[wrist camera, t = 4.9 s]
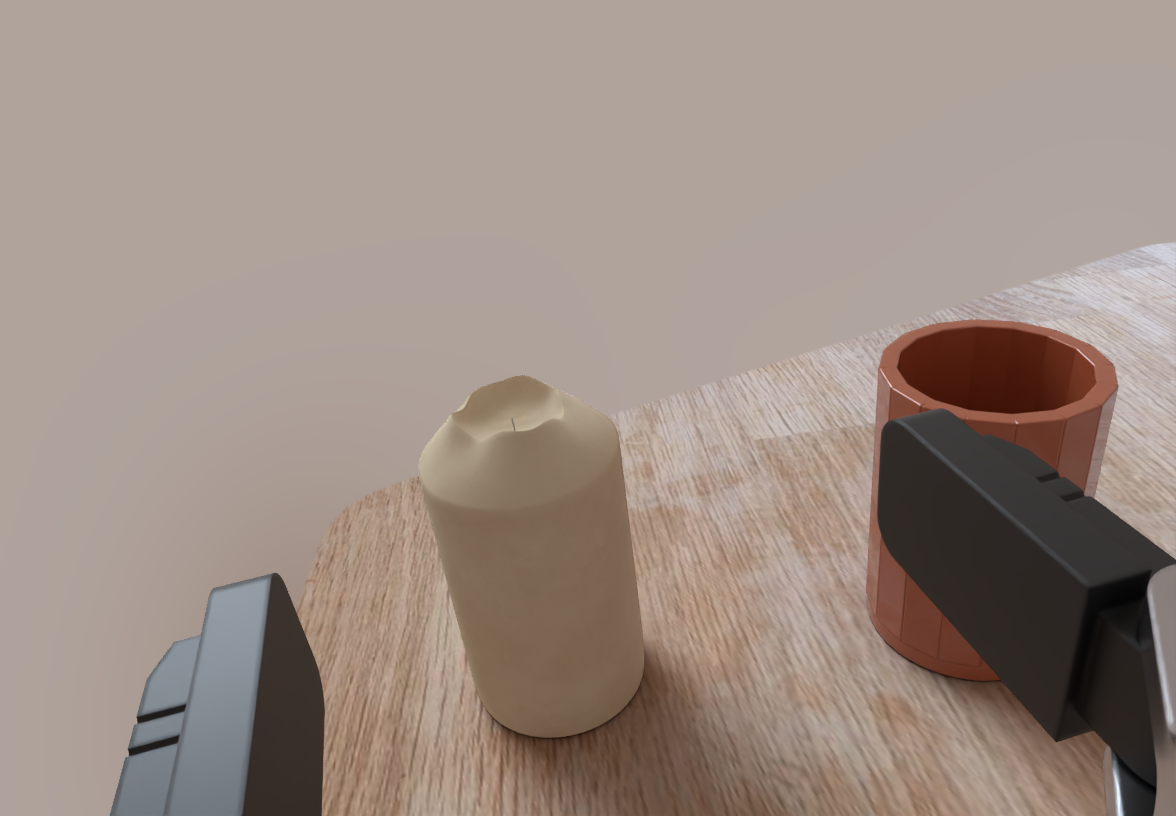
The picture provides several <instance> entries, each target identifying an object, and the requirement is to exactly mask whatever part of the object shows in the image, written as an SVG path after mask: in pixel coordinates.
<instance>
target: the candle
mask: <svg viewBox="0 0 1176 816" xmlns="http://www.w3.org/2000/svg"><path fill="white" fill-rule="evenodd" d="M418 473H419V478H420V482H421V486H422V490H423V494H424V497H425V501H426V505H427V509H428V512H429V516H430V520H431V524H432V527H433V531H434V535H435V539H436V542H437V546H438V550H439V554H440V557H441V561H442V565H443V569H444V572H445V576H446V580H447V584H448V587H449V591H450V595H451V599H452V602H453V606H454V610H455V614H456V617H457V621H458V625H459V629H460V632H461V636H462V640H463V644H464V647H465V651H466V655H467V659H468V662H469V666H470V670H471V673H472V677H473V680H474V683H475V687H476V690H477V692H478V695H479V697H480V699H481V701H482V703H483V705H484V706H485V708H486V709H487V711H488V712H489V713H490V714H491V715H492V717H493V718H494V719H496V720H497V721H498V722H499V723H501V724H502V725H504V726H505V727H507V728H509V729H511V730H513V731H516V732H518V733H521V734H525V735H529V736H535V737H545V738H555V737H565V736H570V735H575V734H579V733H582V732H585V731H588V730H591V729H593V728H595V727H598V726H600V725H601V724H603V723H605V722H607V721H608V720H610V719H611V718H612V717H614V716H615V715H617V714H618V713H619V712H620V711H621V710H622V709H623V708H624V707H625V706H626V705H627V704H628V703H629V701H630V700H631V699H632V698H633V696H634V694H635V693H636V691H637V689H638V687H639V685H640V682H641V679H642V675H643V670H644V659H645V655H644V644H643V633H642V624H641V616H640V607H639V599H638V591H637V582H636V574H635V566H634V558H633V549H632V541H631V533H630V524H629V516H628V508H627V500H626V491H625V483H624V475H623V466H622V458H621V450H620V442H619V435H618V432H617V429H616V427H615V425H614V424H613V422H612V421H611V420H610V419H609V418H608V417H607V416H606V415H605V414H603V413H602V412H601V411H599V410H597V409H596V408H594V407H593V406H591V405H589V404H587V403H585V402H584V401H582V400H580V399H578V398H576V397H574V396H572V395H570V394H567V393H565V392H563V391H560V390H558V389H556V388H554V387H552V386H550V385H548V384H545V383H543V382H541V381H539V380H537V379H534V378H532V377H529V376H523V375H522V376H515V377H512V378H509V379H506V380H504V381H500V382H497V383H493V384H489V385H487V386H484V387H481V388H478V389H477V390H475V391H473V392H472V393H471V394H470V396H469V397H468V398H467V399H466V401H465V402H464V403H463V404H462V405H461V407H460V408H459V409H458V410H457V411H456V412H454V413H452V414H451V415H450V416H449V418H448V420H447V421H446V422H445V424H443V425H442V427H441V428H440V429H439V430H438V431H437V432H436V434H435V435H434V436H433V437H432V439H431V440H430V442H429V443H428V444H427V446H426V447H425V449H424V450H423V452H422V454H421V456H420V460H419V463H418Z"/></svg>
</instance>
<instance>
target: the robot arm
mask: <svg viewBox="0 0 1176 816" xmlns="http://www.w3.org/2000/svg"><path fill="white" fill-rule="evenodd" d="M877 519H878V525H879V529H880V533H881V536H882V539H883V541H884V543H885V545H886V547H887V549H888V551H889V553H890V554H891V556H892V557H893V558H894V559H895V560H896V562H897V563H898V564H899V565H900V566H901V567H902V568H903V570H904V571H905V572H906V573H907V574H908V575H909V576H910V577H911V579H912V580H913V581H914V582H915V583H916V584H917V585H918V587H919V588H920V589H921V590H922V591H923V592H924V593H925V594H926V596H927V597H928V598H929V599H930V600H931V601H932V602H933V603H934V605H935V606H936V607H937V608H938V609H939V610H940V611H941V613H942V614H943V615H944V616H945V617H946V618H947V619H948V620H949V622H950V623H951V624H952V625H953V626H954V627H955V628H956V630H957V631H958V632H959V633H960V634H961V635H962V636H963V637H964V639H965V640H966V641H967V642H968V643H969V644H970V645H971V646H972V648H973V649H974V650H975V651H976V652H977V653H978V654H979V656H980V657H981V658H982V659H983V660H984V661H985V662H986V663H987V665H988V666H989V667H990V668H991V669H992V670H993V671H994V673H995V674H996V675H997V676H998V677H999V678H1000V679H1001V680H1002V682H1003V683H1004V684H1005V685H1006V686H1007V687H1008V688H1009V690H1010V691H1011V692H1012V693H1013V694H1014V695H1015V696H1016V697H1017V699H1018V700H1019V701H1020V702H1021V703H1022V704H1023V705H1024V706H1025V708H1026V709H1027V710H1028V711H1029V712H1030V713H1031V714H1032V716H1033V717H1034V718H1035V719H1036V720H1037V721H1038V722H1039V723H1040V725H1041V726H1042V727H1043V728H1044V729H1045V730H1046V731H1047V733H1048V734H1049V735H1050V736H1051V737H1052V738H1053V739H1054V740H1055V742H1058V741H1062V740H1065V739H1068V738H1071V737H1074V736H1077V735H1080V734H1083V733H1087V732H1090V731H1093V730H1094V731H1095V732H1096V733H1097V734H1098V735H1099V736H1100V737H1101V738H1102V739H1103V740H1104V742H1105V743H1106V744H1107V745H1106V749H1105V753H1104V756H1103V776H1104V789H1105V802H1106V815H1107V816H1176V560H1175V559H1174V558H1173V557H1171V556H1170V555H1169V554H1167V553H1166V552H1165V551H1163V550H1162V549H1161V548H1159V547H1158V546H1157V545H1155V544H1154V543H1153V542H1151V541H1150V540H1149V539H1147V538H1146V537H1145V536H1143V535H1142V534H1141V533H1139V532H1138V531H1137V530H1135V529H1134V528H1133V527H1131V526H1130V525H1129V524H1127V523H1126V522H1125V521H1123V520H1122V519H1121V518H1119V517H1118V516H1117V515H1115V514H1114V513H1113V512H1111V511H1110V510H1109V509H1107V508H1106V507H1105V506H1103V505H1102V504H1101V503H1099V502H1098V501H1097V500H1095V499H1094V498H1093V497H1091V496H1085V495H1084V493H1083V490H1082V489H1080V488H1079V487H1078V486H1076V485H1075V484H1074V483H1072V482H1071V481H1070V480H1068V479H1067V478H1066V477H1060V476H1059V472H1058V471H1056V470H1055V469H1054V468H1052V467H1051V466H1050V465H1048V464H1047V463H1046V462H1044V461H1043V460H1042V459H1040V458H1039V457H1038V456H1036V455H1035V454H1034V453H1032V452H1031V451H1030V450H1028V449H1026V448H1023V447H1021V446H1018V445H1015V444H1013V443H1010V442H1008V441H1005V440H1003V439H1000V438H998V437H995V436H993V435H990V434H987V435H983V436H981V435H980V434H979V433H977V432H976V431H975V430H974V429H972V428H971V427H970V426H968V425H967V424H966V423H965V422H963V421H962V420H961V419H959V418H958V417H957V416H956V415H954V414H953V413H952V412H950V411H949V410H947V409H944V408H938V409H934V410H930V411H926V412H922V413H918V414H914V415H910V416H906V417H902V418H898V419H894V420H890V421H888V422H886V424H885V425H884V427H883V429H882V433H881V443H880V463H879V483H878V502H877ZM324 716H325V709H324V696H323V689H322V683H321V679H320V674H319V670H318V667H317V664H316V661H315V658H314V656H313V653H312V651H311V648H310V646H309V643H308V641H307V638H306V636H305V633H304V631H303V628H302V626H301V623H300V621H299V618H298V616H297V613H296V611H295V608H294V606H293V603H292V601H291V598H290V596H289V593H288V591H287V588H286V586H285V583H284V581H283V580H282V578H281V577H280V575H278V573H273V574H269V575H265V576H261V577H257V578H253V579H249V580H245V581H241V582H237V583H233V584H229V585H225V586H221V587H217V588H214V589H213V590H212V591H211V593H210V595H209V599H208V604H207V608H206V613H205V618H204V623H203V628H202V632H201V635H199V636H196V637H192V638H188V639H184V640H180V641H176V642H174V643H173V644H172V646H171V647H170V648H169V650H168V651H167V652H166V654H165V655H164V656H163V658H162V659H161V661H160V662H159V663H158V665H157V666H156V668H155V669H154V670H153V672H152V673H151V674H150V676H149V677H148V679H147V681H146V684H145V688H144V692H143V695H142V699H141V703H140V706H139V710H138V714H137V721H138V724H137V725H134V728H133V732H132V736H131V740H130V743H129V747H128V751H129V757H126V758H125V761H124V765H123V769H122V772H121V776H120V780H119V784H118V788H117V791H116V795H115V798H114V802H113V806H112V809H111V813H110V816H322V783H323V749H324Z"/></svg>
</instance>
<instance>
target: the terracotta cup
mask: <svg viewBox="0 0 1176 816" xmlns="http://www.w3.org/2000/svg"><path fill="white" fill-rule="evenodd" d="M1118 387H1119V386H1118V381H1117V376H1116V371H1115V366H1114V365H1113V363H1112V362H1110V361H1109V360H1108V359H1107V358H1106V357H1105V356H1104V355H1103V354H1101V353H1100V352H1099V351H1098V350H1097V349H1096V348H1095V347H1093V346H1091V345H1090V344H1088V343H1085V342H1083V341H1081V340H1079V339H1076V338H1074V337H1072V336H1069V335H1067V334H1065V333H1062V332H1060V331H1057V330H1054V329H1049V328H1044V327H1040V326H1035V325H1030V324H1026V323H1021V322H1014V321H995V320H963V321H954V322H945V323H936V324H932V325H929V326H926V327H923V328H920V329H917V330H913V331H910V332H907V333H905V334H903V335H901V336H900V337H899V338H897V339H896V340H895V341H893V342H892V343H891V344H890V345H888V346H887V347H886V348H885V349H884V350H883V352H882V356H881V360H880V364H879V368H878V386H877V404H876V422H875V440H874V458H873V476H872V494H871V512H870V530H869V548H868V566H867V584H866V591H867V592H866V593H867V609H868V612H869V616H870V619H871V621H872V623H873V625H874V627H875V628H876V630H877V631H878V633H879V634H880V636H881V637H882V638H883V639H884V640H885V641H886V642H887V643H888V644H889V645H890V646H891V647H892V648H893V649H895V650H896V651H897V652H898V653H900V654H901V655H903V656H904V657H906V658H907V659H909V660H911V661H912V662H914V663H916V664H918V665H920V666H922V667H924V668H927V669H929V670H932V671H934V672H937V673H940V674H943V675H947V676H951V677H955V678H961V679H967V680H978V681H996V680H1001V679H1000V678H999V677H998V676H997V675H996V674H995V673H994V671H993V670H992V669H991V668H990V667H989V666H988V665H987V663H986V662H985V661H984V660H983V659H982V658H981V657H980V656H979V654H978V653H977V652H976V651H975V650H974V649H973V648H972V646H971V645H970V644H969V643H968V642H967V641H966V640H965V639H964V637H963V636H962V635H961V634H960V633H959V632H958V631H957V630H956V628H955V627H954V626H953V625H952V624H951V623H950V622H949V620H948V619H947V618H946V617H945V616H944V615H943V614H942V613H941V611H940V610H939V609H938V608H937V607H936V606H935V605H934V603H933V602H932V601H931V600H930V599H929V598H928V597H927V596H926V594H925V593H924V592H923V591H922V590H921V589H920V588H919V587H918V585H917V584H916V583H915V582H914V581H913V580H912V579H911V577H910V576H909V575H908V574H907V573H906V572H905V571H904V570H903V568H902V567H901V566H900V565H899V564H898V563H897V562H896V560H895V559H894V558H893V557H892V556H891V554H890V553H889V551H888V549H887V547H886V545H885V543H884V541H883V539H882V536H881V533H880V529H879V525H878V519H877V502H878V483H879V463H880V443H881V433H882V429H883V427H884V425H885V424H886V422H888V421H890V420H894V419H898V418H902V417H906V416H910V415H914V414H918V413H922V412H926V411H930V410H934V409H938V408H944V409H947V410H949V411H950V412H952V413H953V414H954V415H956V416H957V417H958V418H959V419H961V420H962V421H963V422H965V423H966V424H967V425H968V426H970V427H971V428H972V429H974V430H975V431H976V432H977V433H979V434H980V435H981V436H983V435H987V434H990V435H993V436H995V437H998V438H1000V439H1003V440H1005V441H1008V442H1010V443H1013V444H1015V445H1018V446H1021V447H1023V448H1026V449H1028V450H1030V451H1031V452H1032V453H1034V454H1035V455H1036V456H1038V457H1039V458H1040V459H1042V460H1043V461H1044V462H1046V463H1047V464H1048V465H1050V466H1051V467H1052V468H1054V469H1055V470H1056V471H1058V472H1059V476H1060V477H1066V478H1067V479H1068V480H1070V481H1071V482H1072V483H1074V484H1075V485H1076V486H1078V487H1079V488H1080V489H1082V490H1083V493H1084V495H1085V496H1091V497H1093V498H1094V497H1095V493H1096V488H1097V484H1098V479H1099V474H1100V470H1101V465H1102V461H1103V456H1104V451H1105V447H1106V442H1107V438H1108V433H1109V428H1110V424H1111V419H1112V415H1113V410H1114V405H1115V401H1116V396H1117V391H1118Z"/></svg>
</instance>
